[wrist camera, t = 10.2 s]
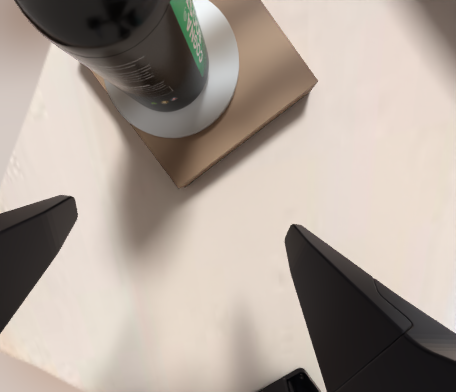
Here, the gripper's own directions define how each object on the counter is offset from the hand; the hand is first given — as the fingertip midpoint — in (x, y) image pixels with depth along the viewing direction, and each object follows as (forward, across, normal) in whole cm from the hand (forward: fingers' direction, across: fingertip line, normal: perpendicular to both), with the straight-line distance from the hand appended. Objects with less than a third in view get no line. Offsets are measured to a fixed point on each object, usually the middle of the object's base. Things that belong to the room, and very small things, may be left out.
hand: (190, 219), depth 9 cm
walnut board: (+15, +2, -5) cm, 16 cm away
